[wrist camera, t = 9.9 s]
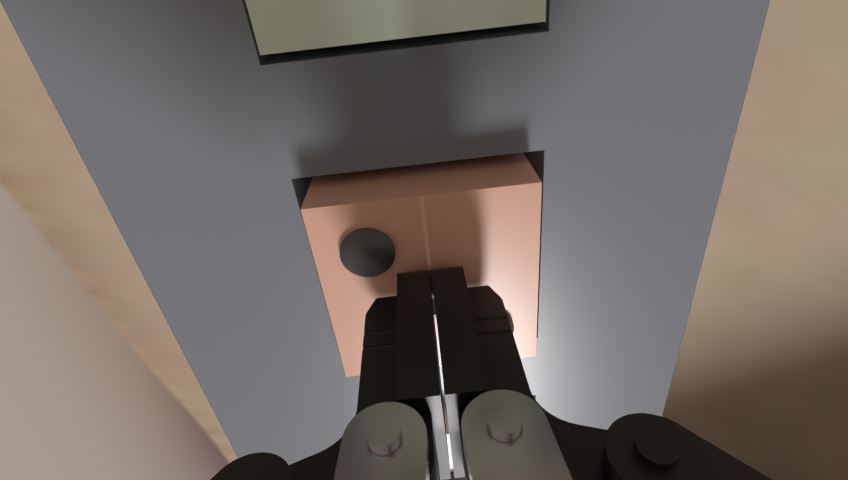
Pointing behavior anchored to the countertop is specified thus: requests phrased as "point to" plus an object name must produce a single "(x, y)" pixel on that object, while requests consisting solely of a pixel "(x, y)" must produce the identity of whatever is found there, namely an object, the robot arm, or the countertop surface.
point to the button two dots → (377, 20)
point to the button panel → (394, 147)
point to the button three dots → (426, 238)
